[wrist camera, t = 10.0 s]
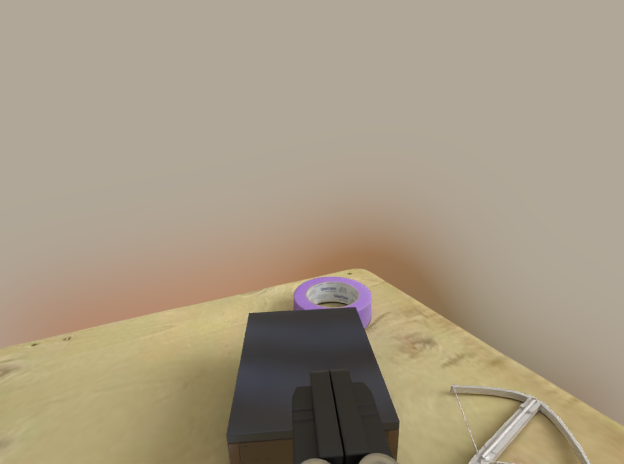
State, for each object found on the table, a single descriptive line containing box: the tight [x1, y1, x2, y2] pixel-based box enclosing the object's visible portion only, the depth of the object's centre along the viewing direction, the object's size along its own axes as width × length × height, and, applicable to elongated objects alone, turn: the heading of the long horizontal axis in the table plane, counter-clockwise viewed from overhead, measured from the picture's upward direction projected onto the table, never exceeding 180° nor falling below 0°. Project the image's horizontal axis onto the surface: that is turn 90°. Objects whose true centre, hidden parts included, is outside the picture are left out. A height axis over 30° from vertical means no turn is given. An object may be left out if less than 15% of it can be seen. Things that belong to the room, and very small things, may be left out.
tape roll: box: [294, 277, 372, 329], centre depth 52 cm, size 12×12×4 cm
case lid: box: [227, 307, 400, 443], centre depth 33 cm, size 16×13×1 cm
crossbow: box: [450, 384, 591, 464], centre depth 31 cm, size 16×13×2 cm
